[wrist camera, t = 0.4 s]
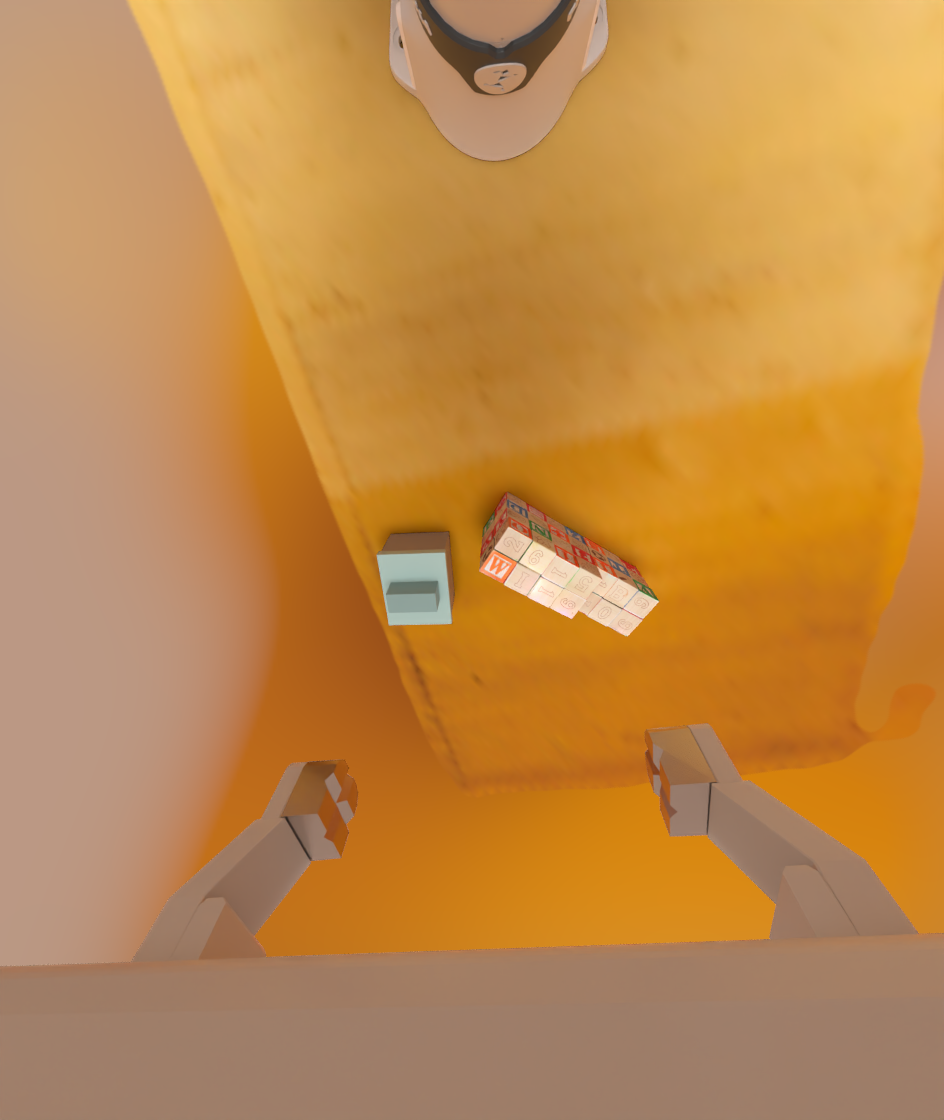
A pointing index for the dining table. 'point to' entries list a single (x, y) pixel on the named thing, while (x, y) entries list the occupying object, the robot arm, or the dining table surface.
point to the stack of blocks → (562, 568)
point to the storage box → (424, 548)
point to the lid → (415, 586)
